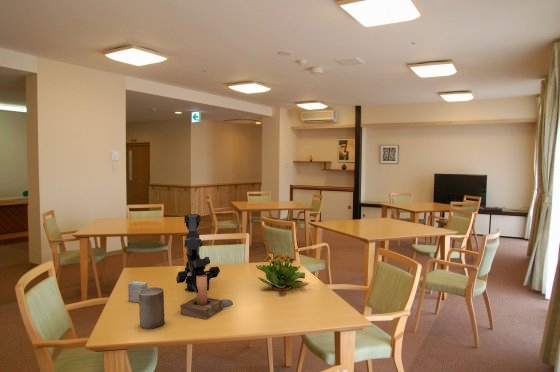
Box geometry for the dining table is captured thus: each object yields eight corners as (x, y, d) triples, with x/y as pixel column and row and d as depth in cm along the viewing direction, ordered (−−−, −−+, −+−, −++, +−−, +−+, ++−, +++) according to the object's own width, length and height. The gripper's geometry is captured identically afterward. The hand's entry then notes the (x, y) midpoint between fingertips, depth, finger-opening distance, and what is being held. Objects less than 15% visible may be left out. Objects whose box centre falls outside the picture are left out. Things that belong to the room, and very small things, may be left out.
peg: (200, 302, 178) (200, 274, 177) (209, 304, 176) (208, 275, 175) (194, 306, 174) (194, 276, 173) (203, 307, 172) (202, 278, 171)
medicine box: (148, 300, 190) (148, 282, 189) (142, 303, 186) (142, 285, 185) (134, 298, 192) (133, 280, 191) (128, 301, 188) (127, 283, 187)
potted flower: (298, 298, 192) (298, 262, 191) (251, 294, 197) (251, 260, 196) (305, 282, 217) (306, 251, 216) (263, 280, 222) (263, 249, 221)
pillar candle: (167, 319, 167) (166, 283, 166) (161, 328, 157) (159, 291, 156) (143, 319, 167) (142, 284, 166) (136, 329, 157) (134, 292, 156)
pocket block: (198, 304, 184) (198, 296, 183) (222, 309, 178) (222, 300, 178) (180, 314, 172) (180, 305, 172) (205, 319, 166) (205, 310, 166)
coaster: (221, 300, 190) (221, 298, 190) (235, 302, 186) (235, 300, 186) (211, 305, 183) (211, 303, 182) (226, 308, 179) (226, 306, 179)
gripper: (177, 253, 172) (185, 285, 163) (218, 248, 181) (227, 278, 173) (172, 267, 179) (180, 298, 171) (212, 262, 189) (221, 291, 180)
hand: (202, 291), depth 173 cm, fingers closed on peg, 4 cm apart
